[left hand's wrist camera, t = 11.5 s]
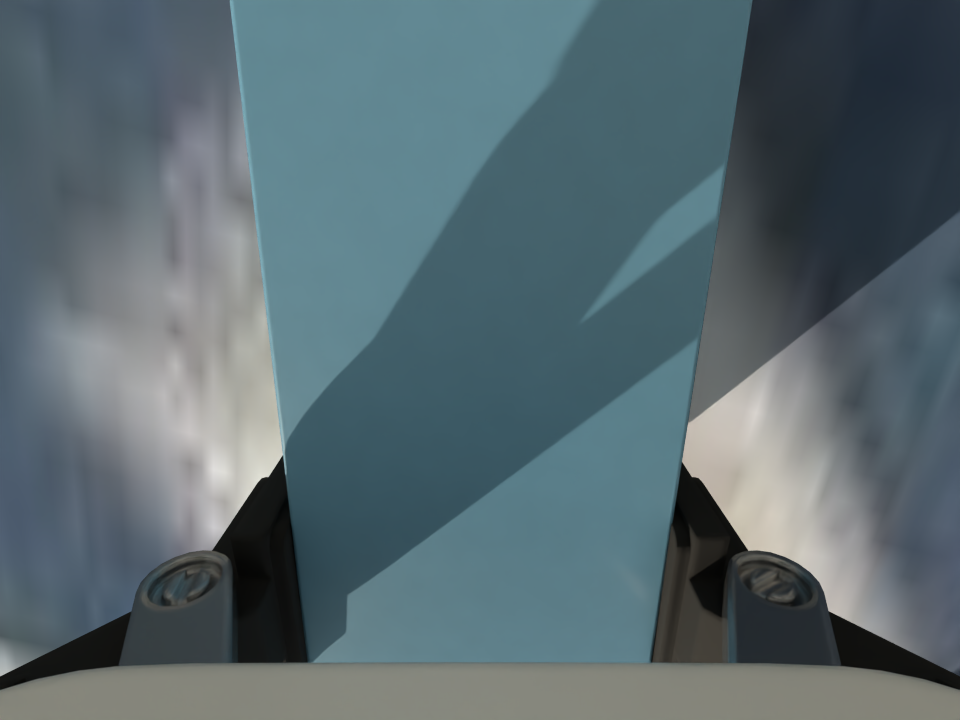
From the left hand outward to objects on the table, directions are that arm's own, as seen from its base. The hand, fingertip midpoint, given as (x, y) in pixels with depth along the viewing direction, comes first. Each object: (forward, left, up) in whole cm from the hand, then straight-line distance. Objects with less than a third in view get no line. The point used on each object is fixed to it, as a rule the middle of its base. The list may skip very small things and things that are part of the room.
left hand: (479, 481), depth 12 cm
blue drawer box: (+1, +3, -4) cm, 6 cm away
